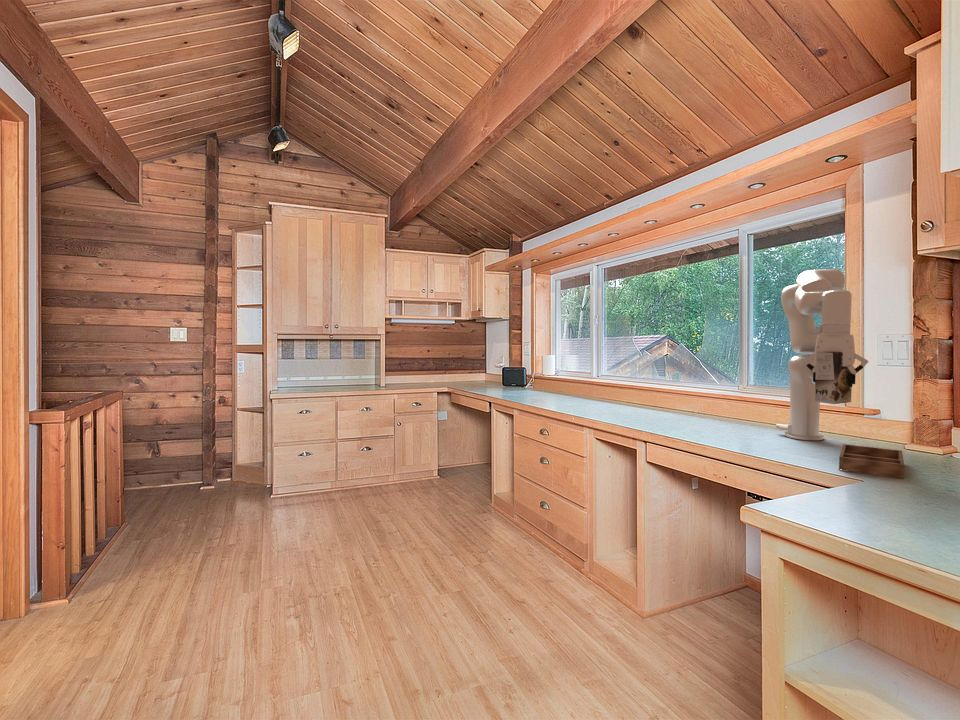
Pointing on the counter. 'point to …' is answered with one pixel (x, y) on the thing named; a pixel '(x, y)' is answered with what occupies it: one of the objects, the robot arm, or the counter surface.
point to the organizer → (872, 461)
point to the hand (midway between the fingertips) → (833, 385)
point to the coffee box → (831, 379)
